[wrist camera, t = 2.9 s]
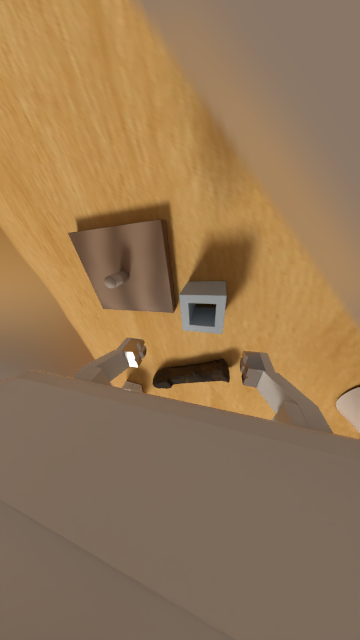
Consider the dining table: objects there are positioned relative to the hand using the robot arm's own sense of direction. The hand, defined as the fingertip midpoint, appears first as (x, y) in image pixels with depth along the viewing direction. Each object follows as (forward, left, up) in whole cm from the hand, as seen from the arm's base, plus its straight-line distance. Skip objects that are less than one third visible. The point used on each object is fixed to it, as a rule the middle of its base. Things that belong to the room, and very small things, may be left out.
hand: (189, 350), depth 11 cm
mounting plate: (+12, -4, -11) cm, 17 cm away
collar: (0, 0, -11) cm, 11 cm away
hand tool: (+4, +19, -12) cm, 22 cm away
